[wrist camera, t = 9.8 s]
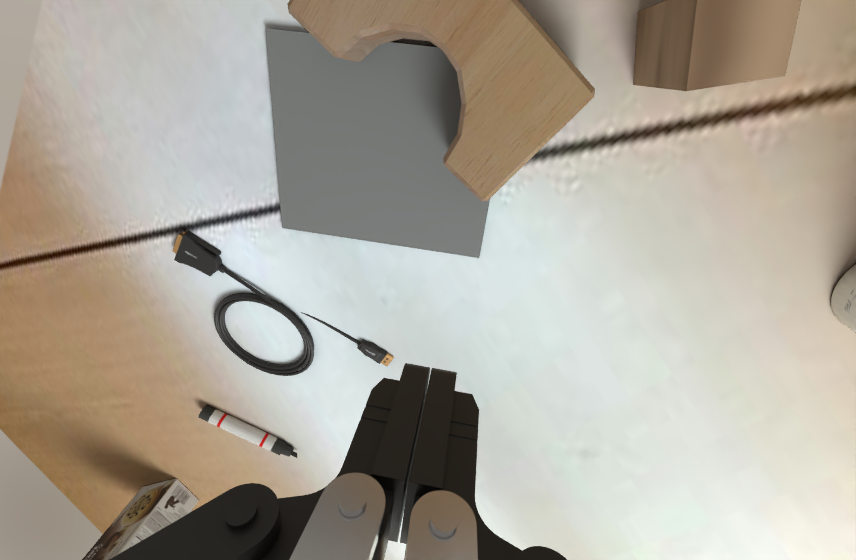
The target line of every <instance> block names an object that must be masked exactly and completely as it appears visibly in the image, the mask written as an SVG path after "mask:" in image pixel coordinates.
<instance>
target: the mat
mask: <svg viewBox="0 0 856 560" xmlns="http://www.w3.org/2000/svg"><path fill="white" fill-rule="evenodd" d="M266 40H267V52H268V64H269V76H270V88H271V100H272V112H273V124H274V136H275V148H276V160H277V172H278V184H279V196H280V208H281V220H282V228H286V229H293V230H299V231H306V232H312V233H319V234H326V235H332V236H339V237H345V238H352V239H358V240H365V241H372V242H378V243H385V244H391V245H398V246H404V247H411V248H418V249H424V250H431V251H437V252H444V253H450V254H457V255H464V256H470V257H477V258H479V256H480V250H481V245H482V239H483V234H484V228H485V222H486V217H487V211H488V206H489V200H490V199H489V200H488V201H480V200H479V199H478V198H477V197H476V196H475V195H474V194H473V193H472V192H471V191H470V190H469V189H468V188H467V187H466V186H465V185H464V184H463V183H462V182H461V181H460V180H459V179H458V178H457V177H456V176H455V175H454V174H453V173H452V172H451V171H449V170H448V169H447V168H446V167H445V166H444V162H443V157H444V155H445V154H446V152H447V150H448V149H449V147H450V145H451V143H452V142H453V140H454V138H455V137H456V135H457V132H458V125H459V118H460V111H461V104H462V103H461V97H460V90H459V83H458V77H457V71H456V70H455V68H454V67H453V65H452V64H451V62H450V61H449V59H448V58H447V56H446V55H445V53H444V52H443V51H442V50H441V49H439V48H438V47H430V46H421V45H412V44H403V43H394V42H388V43H384V44H380V45H378V46H377V47H376V48H375V49H374V50H373V51H372V52H371V53H369V54H368V55H367V56H366V57H365V58H364V59H363V60H362V61H361V62H353V61H349V60H345V59H341V58H338V57H334V56H333V55H332V54H331V53H330V52H329V51H328V50H326V49H325V48H324V47H323V46H322V45H321V44H320V43H319V42H318V41H317V40H316V39H315V38H314V37H313V36H312V35H311V34H310V33H304V32H295V31H286V30H277V29H268V28H266Z"/></svg>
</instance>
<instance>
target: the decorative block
mask: <svg viewBox="0 0 856 560" xmlns="http://www.w3.org/2000/svg"><path fill="white" fill-rule="evenodd" d="M288 9H289V13H290V14H291V15H292V16H293V17H294V18H295V19H296V20H297V21H298V22H299V23H300V24H301V25H302V26H303V27H304V28H305V29H306V30H307V31H308V32H309V33H310V34H311V35H312V36H313V37H314V38H315V39H316V40H317V41H318V42H319V43H320V44H321V45H322V46H323V47H324V48H325V49H326V50H328V51H329V52H330V53H331V54H332V55H333V56H334V57H338V58H341V59H345V60H349V61H353V62H361V61H362V60H363V59H364V58H365V57H366V56H367V55H368V54H369V53H371V52H372V51H373V50H374V49H375V48H376V47H377V46H378V45H380V44H384V43H388V42H391V41H395V40H399V39H403V38H405V39H414V40H423V41H430V42H431V43H433V44H434V45H435V46H437V47H438V48H439V49H441V50H442V51H443V52H444V53H445V55H446V56H447V58H448V59H449V61H450V62H451V64H452V65H453V67H454V68H455V70H456V71H457V77H458V83H459V90H460V97H461V103H462V104H461V111H460V118H459V125H458V132H457V135H456V137H455V138H454V140H453V142H452V143H451V145H450V147H449V149H448V150H447V152H446V154H445V155H444V157H443V162H444V166H445V167H446V168H447V169H448V170H449V171H451V172H452V173H453V174H454V175H455V176H456V177H457V178H458V179H459V180H460V181H461V182H462V183H463V184H464V185H465V186H466V187H467V188H468V189H469V190H470V191H471V192H472V193H473V194H474V195H475V196H476V197H477V198H478V199H479V200H480V201H488V200H489V199H490V198H491V197H492V196H493V195H494V194H495V193H496V192H497V191H498V190H499V189H500V188H501V187H502V186H503V185H504V184H505V183H506V182H507V181H508V180H509V179H510V178H511V177H512V176H513V175H514V174H515V173H516V172H517V171H518V170H519V169H520V168H521V167H523V166H524V165H525V164H526V163H527V162H528V161H529V160H530V159H531V158H532V157H533V156H534V155H535V154H536V153H537V152H538V151H539V150H540V149H541V148H542V147H543V146H544V145H545V144H546V143H547V142H548V141H549V140H550V139H551V138H552V137H553V136H554V135H555V134H556V133H557V132H558V131H560V130H561V129H562V128H563V127H564V126H565V125H566V124H567V123H568V122H569V121H570V120H571V119H572V118H573V117H574V116H575V115H576V114H577V113H578V112H579V111H580V110H581V109H582V108H583V107H584V106H585V105H586V104H587V103H588V102H589V101H590V100H591V99H592V98H593V97H594V92H595V89H594V87H593V86H592V85H591V84H590V83H589V82H588V81H587V79H586V78H585V77H584V76H583V75H582V74H581V72H580V71H579V70H578V69H577V68H576V67H575V66H574V64H573V63H572V62H571V61H570V60H569V59H568V58H567V56H566V55H565V54H564V53H563V52H562V51H561V49H560V48H559V47H558V46H557V45H556V44H555V43H554V41H553V40H552V39H551V38H550V37H549V36H548V35H547V33H546V32H545V31H544V30H543V29H542V28H541V26H540V25H539V24H538V23H537V22H536V21H535V20H534V18H533V17H532V16H531V15H530V14H529V13H528V11H527V10H526V9H525V8H524V7H523V6H522V5H521V3H520V2H519V1H518V0H290V1H289V3H288Z"/></svg>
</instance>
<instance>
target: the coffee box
mask: <svg viewBox="0 0 856 560" xmlns="http://www.w3.org/2000/svg"><path fill="white" fill-rule="evenodd" d="M197 502H198V499H197V498H196V497H195V496H194V495H193V494H192V493H191V492H190V491H189V490H188V489H187V488H186V487H185V486H184V485H183V484H182V483H181V482H180V481H179V480H178V479H172V480H168V481H164V482H160V483H156V484H152V485H148V486H144V487H142V488H141V489H140V490H139V491H138V493H137V494H136V495H135V496H134V498H133V499H132V500H131V501H130V502H129V504H128V505H127V506H126V507H125V508H124V510H123V511H122V512H121V513H120V515H119V516H118V517H117V518H116V519H115V521H114V522H113V523H112V524H111V526H110V527H109V528H108V529H107V530H106V531H105V533H104V534H103V535H102V536H101V538H100V539H99V540H98V541H97V542H96V544H95V545H94V546H93V548H91V550H90V551H89V552H88V553H87V554H86V556H85V557H84V558H83V559H82V560H109V559H111V558H113V557H114V556H116V555H118V554H120V553H121V552H123V551H125V550H127V549H128V548H130V547H132V546H133V545H135V544H137V543H139V542H140V541H142V540H144V539H146V538H147V537H149V536H151V535H152V534H154V533H156V532H158V531H159V530H161V529H163V528H164V527H166V526H168V525H170V524H171V523H173V522H175V521H177V520H178V519H180V518H182V517H183V516H185V515H187V514H189V513H190V512H191V511H192V509H193V508H194V506H195V505H196V503H197Z"/></svg>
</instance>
